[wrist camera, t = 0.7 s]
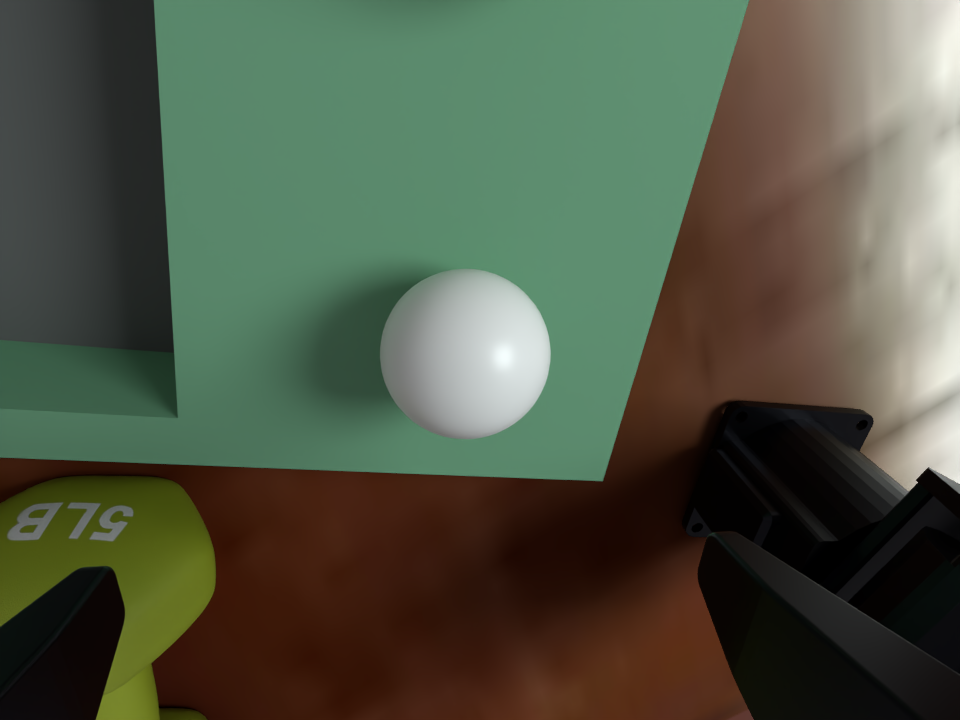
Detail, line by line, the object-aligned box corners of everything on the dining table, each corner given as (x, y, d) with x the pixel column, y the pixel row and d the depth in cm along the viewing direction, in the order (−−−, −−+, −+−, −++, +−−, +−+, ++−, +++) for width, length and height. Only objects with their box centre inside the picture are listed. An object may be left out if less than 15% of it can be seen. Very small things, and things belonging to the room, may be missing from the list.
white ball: (543, 257, 16) (591, 316, 12) (514, 391, 17) (549, 477, 14) (387, 238, 15) (391, 296, 11) (372, 382, 17) (372, 470, 13)
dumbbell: (-13, 451, 20) (-192, 633, 14) (240, 456, 22) (184, 623, 15) (64, 755, 27) (-32, 968, 21) (251, 743, 29) (215, 939, 22)
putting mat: (784, -423, 14) (928, -590, 10) (567, 415, 23) (602, 481, 19) (-412, -895, 9) (-900, -1482, 6) (-82, 375, 19) (-190, 449, 15)
